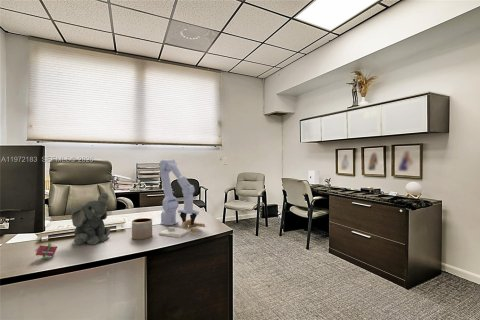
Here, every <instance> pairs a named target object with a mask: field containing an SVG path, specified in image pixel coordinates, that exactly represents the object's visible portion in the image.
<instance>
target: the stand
mask: <svg viewBox="0 0 480 320" xmlns="http://www.w3.org/2000/svg"><path fill="white" fill-rule="evenodd" d="M190 232H192V231H191V229H185V228H182V227H174V226H169V227H167V228H166V229H165V230H162V231H160V232H159V233H158V234H159V236H164V237H165V236H166V237H173V238H182V237H183V236H185V235H187V234H189V233H190Z"/></svg>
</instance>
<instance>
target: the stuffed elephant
mask: <svg viewBox="0 0 480 320" xmlns="http://www.w3.org/2000/svg"><path fill="white" fill-rule="evenodd" d="M108 200H109V194H108V193H107V192H102V193H101V194H99V196H98V197H97V200H91V201H88V202H86V204H84V205H80V206H78V207H75V208H72V210H71V215H70V216H71V222H72V226H73V227H74V228H75V230H74V231H73V232H74V234H73V235H74V238H73V239H74V240H73V242H74V243H75V244H76V245H83V244H85V243H86V244H88V245H95V244H97V243H98V242H99V243H101V242H104V241H106V240H107V239H108V237H109V235H110V232H111V228H110V226H107V227H105V222H104V220H106V219H107V217H108V212H107V209H108V206H106V203H107V201H108Z"/></svg>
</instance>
